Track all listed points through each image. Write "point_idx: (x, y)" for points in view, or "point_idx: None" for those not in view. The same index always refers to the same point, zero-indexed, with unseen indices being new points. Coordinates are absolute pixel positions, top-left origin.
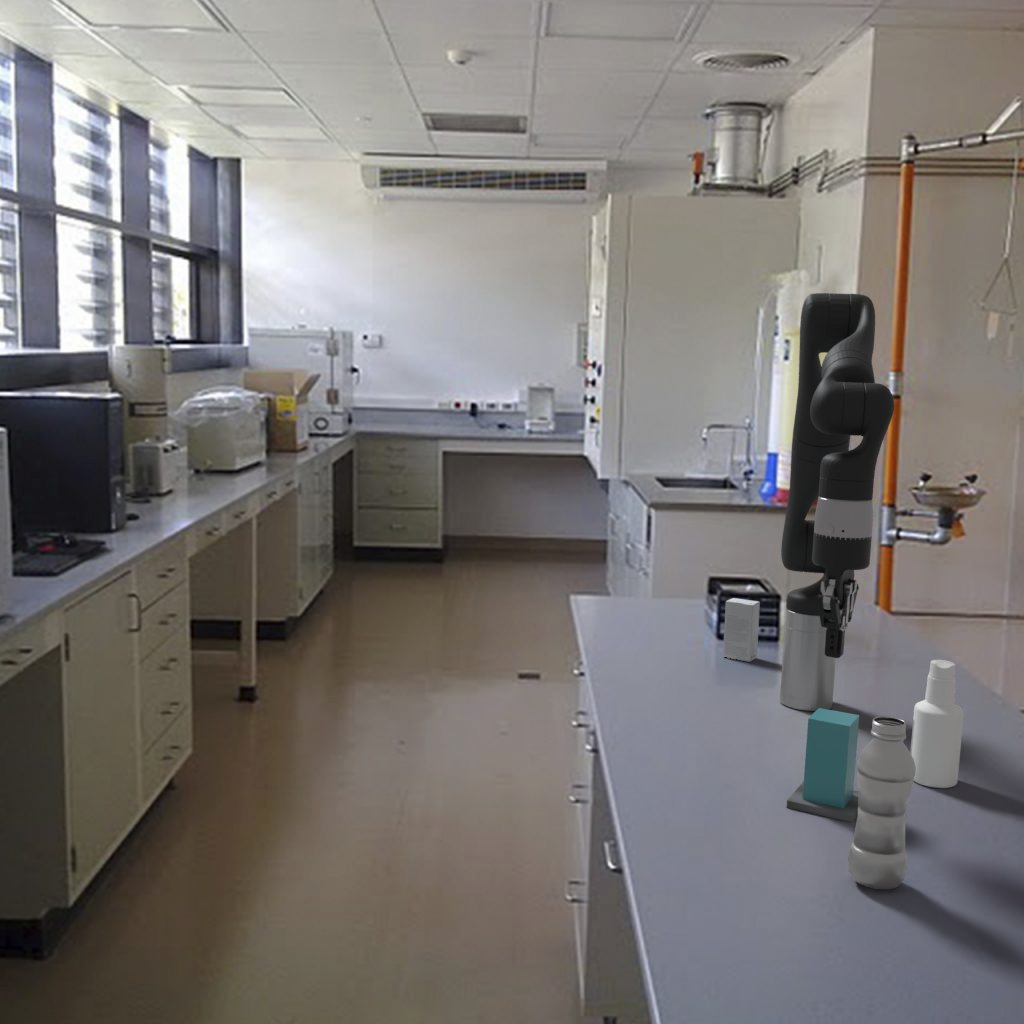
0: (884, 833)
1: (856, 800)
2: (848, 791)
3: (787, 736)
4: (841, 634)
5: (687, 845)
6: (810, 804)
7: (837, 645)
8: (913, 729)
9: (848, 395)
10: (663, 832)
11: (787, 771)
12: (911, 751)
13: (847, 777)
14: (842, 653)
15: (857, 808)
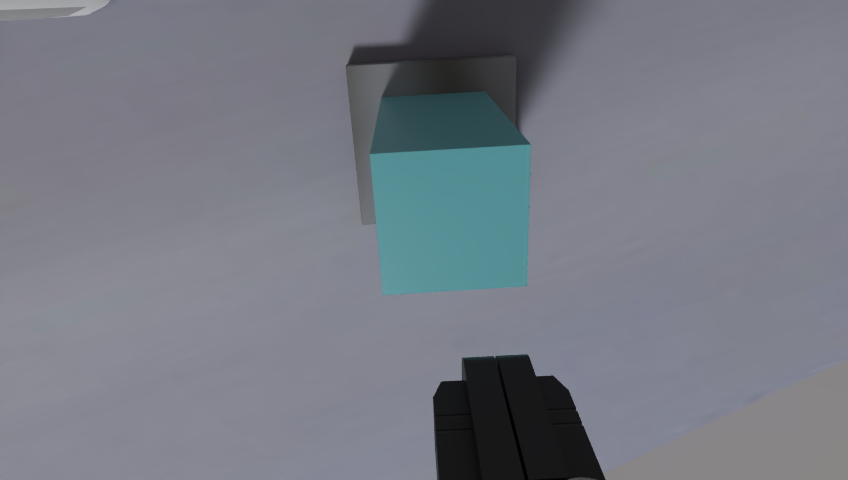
0: None
1: (413, 78)
2: (442, 99)
3: (70, 352)
4: (565, 466)
5: (795, 292)
6: None
7: (571, 417)
8: (7, 12)
9: None
10: (754, 345)
11: (295, 278)
12: (57, 10)
13: (474, 106)
14: (489, 361)
15: (466, 60)
